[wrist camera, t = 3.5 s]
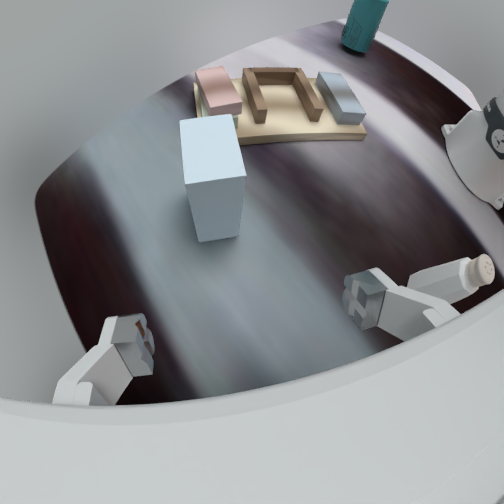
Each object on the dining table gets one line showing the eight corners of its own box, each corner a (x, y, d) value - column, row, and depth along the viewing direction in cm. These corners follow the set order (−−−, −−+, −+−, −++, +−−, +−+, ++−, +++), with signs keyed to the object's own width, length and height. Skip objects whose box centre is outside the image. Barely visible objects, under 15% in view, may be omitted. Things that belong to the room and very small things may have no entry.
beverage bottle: (371, 59, 43) (403, -11, 24) (346, 56, 42) (376, -22, 23) (356, 44, 45) (383, -23, 26) (332, 40, 44) (356, -32, 25)
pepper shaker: (419, 261, 29) (481, 228, 19) (442, 293, 28) (507, 270, 18) (397, 291, 28) (464, 264, 17) (422, 324, 27) (492, 310, 16)
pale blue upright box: (192, 191, 29) (179, 120, 19) (228, 185, 30) (231, 113, 19) (199, 242, 28) (185, 184, 17) (238, 236, 28) (246, 175, 18)
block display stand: (194, 90, 34) (192, 61, 29) (332, 86, 38) (342, 61, 32) (201, 150, 31) (198, 118, 26) (363, 139, 34) (379, 114, 29)
